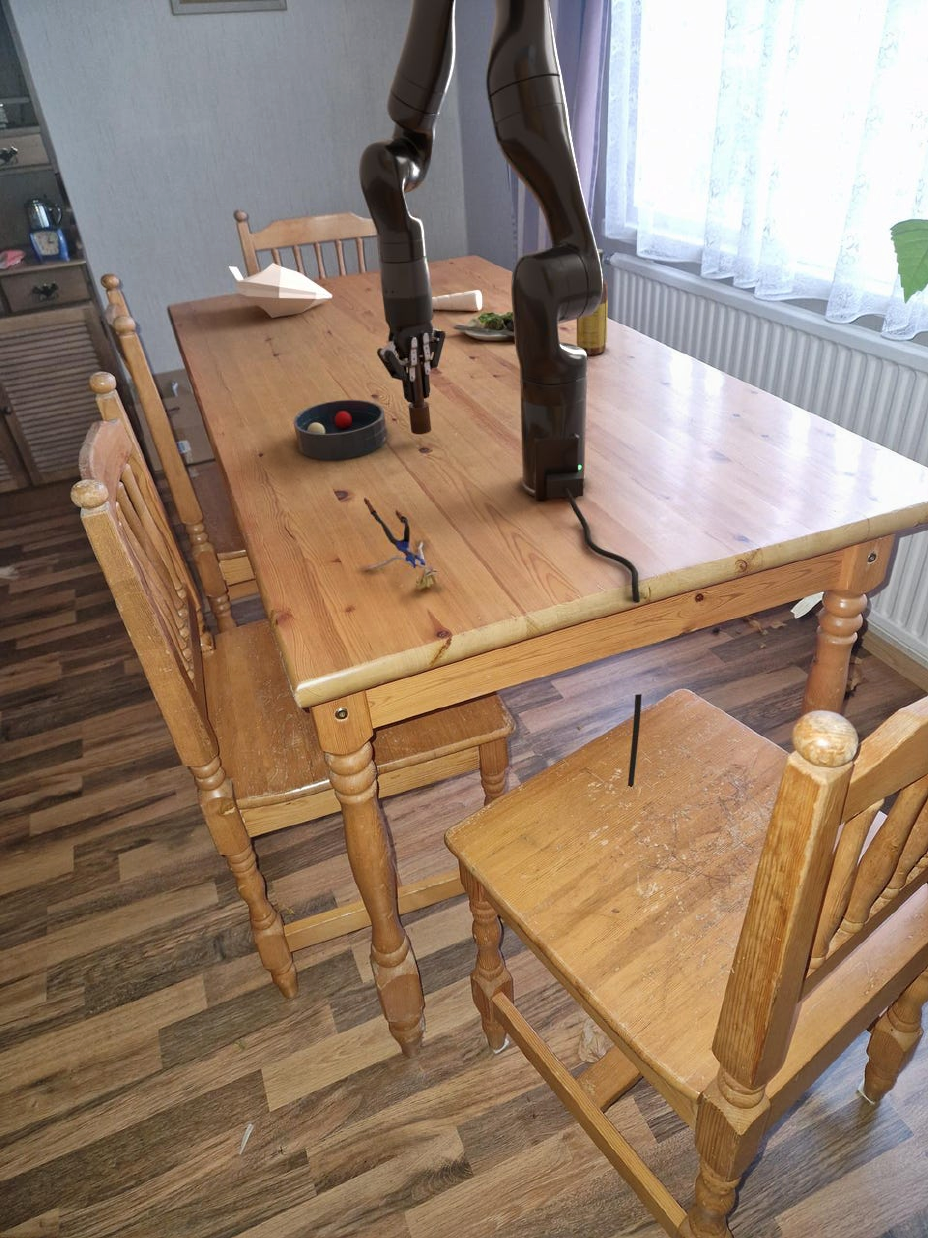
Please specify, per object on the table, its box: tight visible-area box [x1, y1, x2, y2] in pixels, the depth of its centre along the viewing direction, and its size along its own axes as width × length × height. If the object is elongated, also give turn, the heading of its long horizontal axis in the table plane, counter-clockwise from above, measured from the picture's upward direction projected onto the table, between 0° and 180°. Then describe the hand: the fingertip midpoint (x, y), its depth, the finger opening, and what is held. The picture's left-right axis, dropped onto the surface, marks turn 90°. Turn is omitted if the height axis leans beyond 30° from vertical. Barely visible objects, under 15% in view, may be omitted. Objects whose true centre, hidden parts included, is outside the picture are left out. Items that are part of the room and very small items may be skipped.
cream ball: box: [307, 423, 325, 434], centre depth 139 cm, size 3×3×3 cm
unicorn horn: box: [432, 289, 483, 312], centre depth 203 cm, size 5×24×5 cm, turn 68°
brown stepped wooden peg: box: [408, 355, 432, 435], centre depth 133 cm, size 3×3×14 cm
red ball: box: [335, 411, 352, 429], centre depth 143 cm, size 3×3×3 cm
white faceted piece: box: [228, 262, 333, 319], centre depth 207 cm, size 25×24×12 cm
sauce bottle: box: [576, 248, 609, 356], centre depth 164 cm, size 7×6×20 cm
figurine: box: [363, 497, 439, 604], centre depth 104 cm, size 10×9×20 cm
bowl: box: [292, 399, 388, 461], centre depth 139 cm, size 15×15×4 cm
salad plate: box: [452, 311, 515, 342], centre depth 184 cm, size 19×18×5 cm
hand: (418, 398), depth 133 cm, fingers closed on brown stepped wooden peg, 2 cm apart
